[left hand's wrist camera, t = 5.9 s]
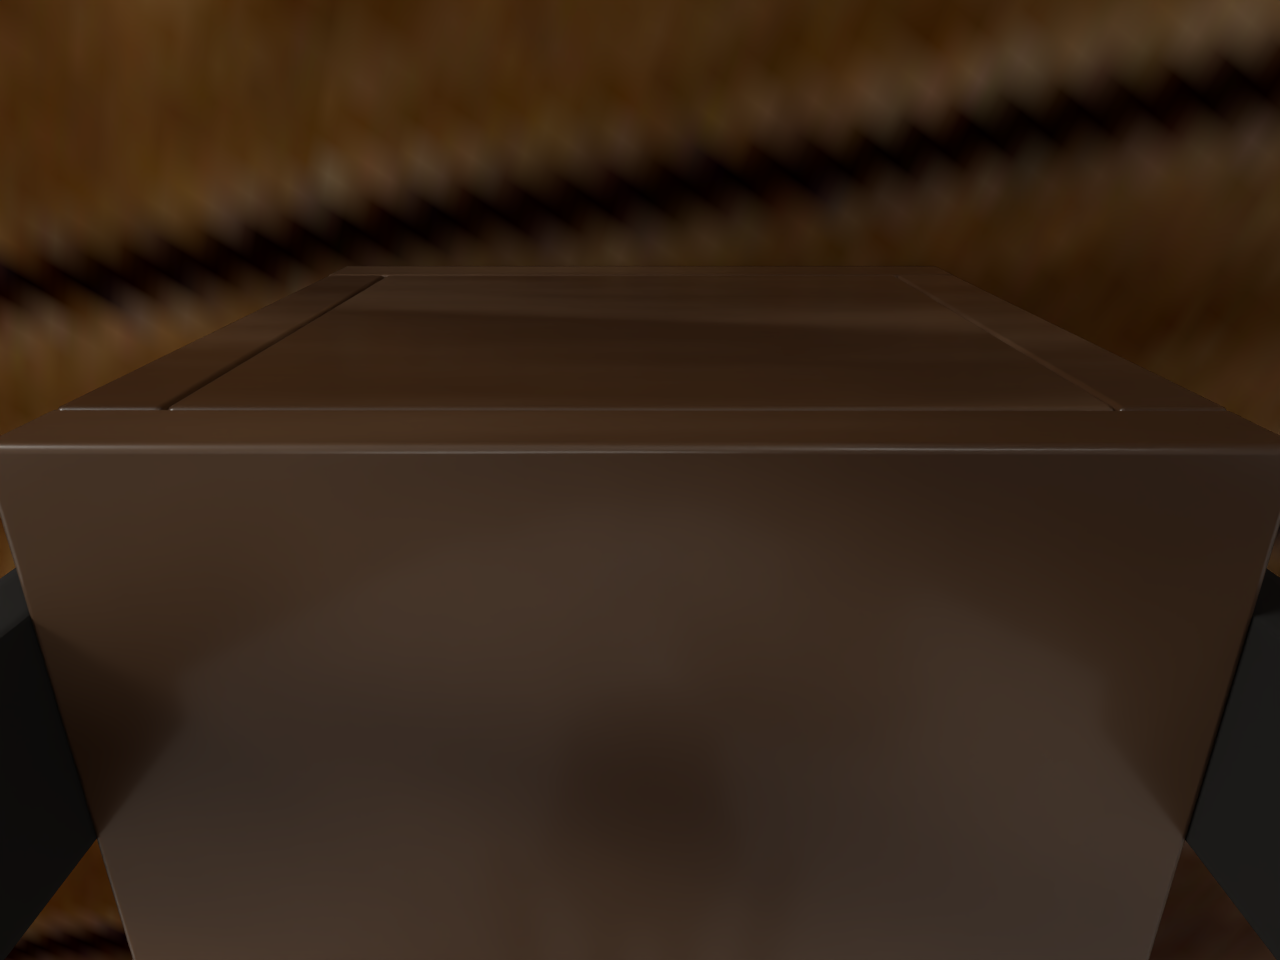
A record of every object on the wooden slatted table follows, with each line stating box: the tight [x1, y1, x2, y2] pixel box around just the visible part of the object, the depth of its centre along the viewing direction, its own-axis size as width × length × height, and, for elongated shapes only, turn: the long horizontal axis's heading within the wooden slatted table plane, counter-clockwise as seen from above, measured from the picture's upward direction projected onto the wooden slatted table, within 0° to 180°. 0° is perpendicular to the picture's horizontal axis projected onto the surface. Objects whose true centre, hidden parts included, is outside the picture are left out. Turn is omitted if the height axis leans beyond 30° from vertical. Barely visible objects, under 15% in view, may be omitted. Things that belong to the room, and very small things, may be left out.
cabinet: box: [0, 266, 1280, 960], centre depth 16 cm, size 21×11×10 cm, turn 0°
